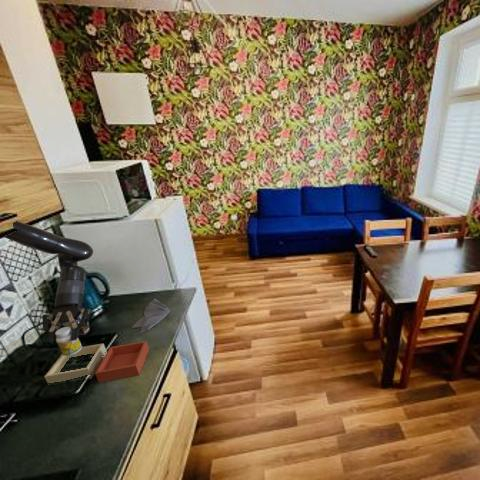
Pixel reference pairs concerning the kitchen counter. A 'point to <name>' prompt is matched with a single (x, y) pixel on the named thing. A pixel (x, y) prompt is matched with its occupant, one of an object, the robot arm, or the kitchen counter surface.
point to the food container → (83, 330)
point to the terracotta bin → (122, 361)
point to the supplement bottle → (67, 342)
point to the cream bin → (91, 368)
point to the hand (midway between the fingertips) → (63, 341)
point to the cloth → (152, 315)
